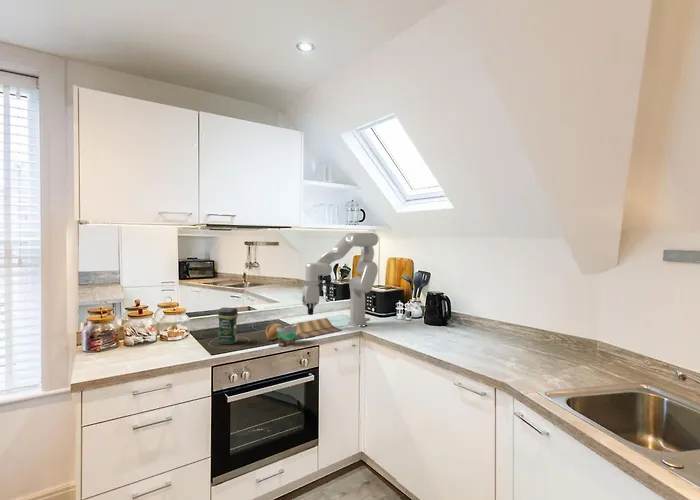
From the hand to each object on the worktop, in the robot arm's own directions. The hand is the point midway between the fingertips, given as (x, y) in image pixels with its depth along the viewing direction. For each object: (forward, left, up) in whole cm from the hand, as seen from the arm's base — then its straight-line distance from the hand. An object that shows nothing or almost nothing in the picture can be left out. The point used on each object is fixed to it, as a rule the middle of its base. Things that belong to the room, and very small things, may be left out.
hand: (310, 314), depth 214 cm
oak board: (-1, +1, -8) cm, 8 cm away
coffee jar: (+47, -8, -10) cm, 49 cm away
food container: (+24, +16, -10) cm, 31 cm away
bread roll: (+23, -1, -11) cm, 26 cm away
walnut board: (-1, +9, -10) cm, 14 cm away
